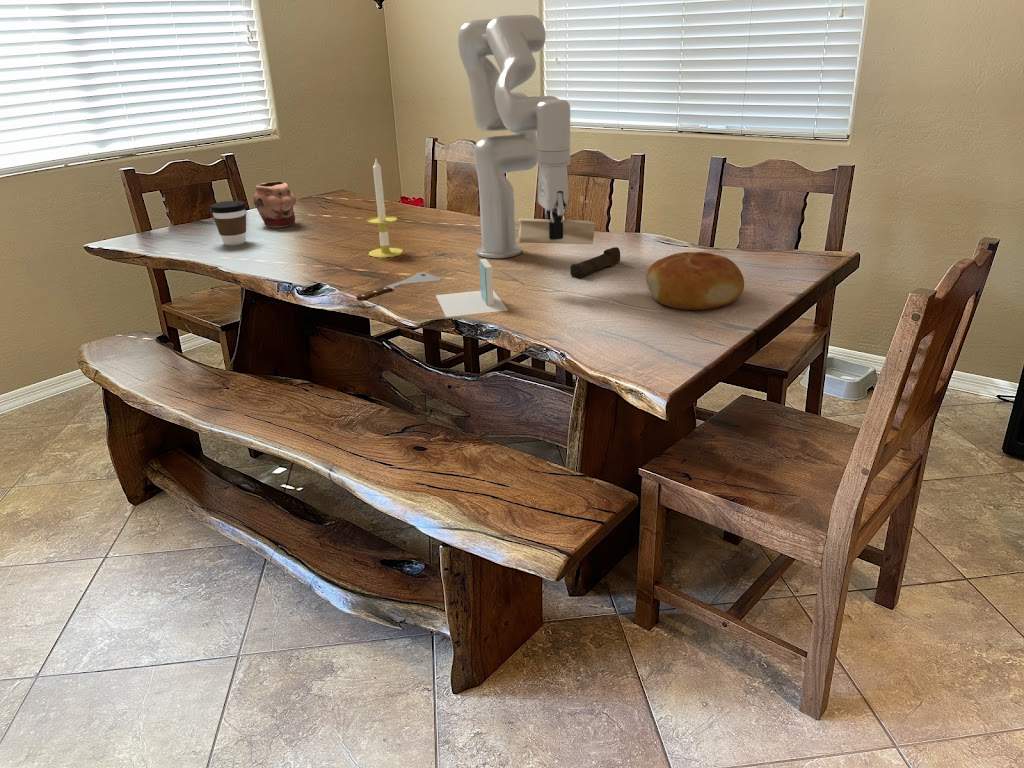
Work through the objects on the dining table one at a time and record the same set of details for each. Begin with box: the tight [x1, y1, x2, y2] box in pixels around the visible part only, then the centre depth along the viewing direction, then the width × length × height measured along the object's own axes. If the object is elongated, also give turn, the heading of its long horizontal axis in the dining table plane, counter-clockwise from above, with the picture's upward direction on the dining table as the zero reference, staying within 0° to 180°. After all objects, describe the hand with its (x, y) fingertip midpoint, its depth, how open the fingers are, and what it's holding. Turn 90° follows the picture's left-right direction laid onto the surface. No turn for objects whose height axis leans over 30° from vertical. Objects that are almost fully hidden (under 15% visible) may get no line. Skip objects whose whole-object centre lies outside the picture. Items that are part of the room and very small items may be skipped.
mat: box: [435, 289, 509, 318], centre depth 181 cm, size 16×14×1 cm
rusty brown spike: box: [569, 246, 621, 280], centre depth 202 cm, size 19×4×5 cm, turn 135°
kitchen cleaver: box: [356, 271, 442, 301], centre depth 194 cm, size 24×1×10 cm
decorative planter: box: [253, 181, 297, 228], centre depth 260 cm, size 20×12×14 cm, turn 51°
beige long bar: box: [516, 218, 596, 245], centre depth 185 cm, size 3×18×5 cm, turn 103°
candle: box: [366, 158, 404, 259], centre depth 219 cm, size 10×10×27 cm
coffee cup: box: [209, 200, 248, 246], centre depth 239 cm, size 11×11×12 cm
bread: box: [645, 251, 745, 311], centre depth 179 cm, size 23×23×10 cm
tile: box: [478, 258, 494, 306], centre depth 179 cm, size 7×2×9 cm, turn 13°
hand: (554, 236), depth 185 cm, fingers closed on beige long bar, 2 cm apart
